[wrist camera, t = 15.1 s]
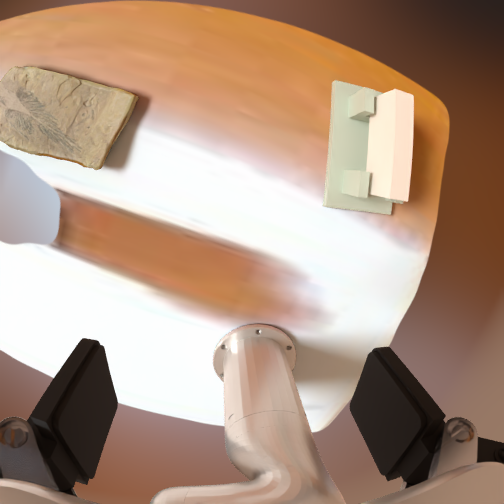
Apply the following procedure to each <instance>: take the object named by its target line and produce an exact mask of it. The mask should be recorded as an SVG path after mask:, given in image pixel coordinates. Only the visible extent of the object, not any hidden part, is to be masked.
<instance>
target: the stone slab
mask: <svg viewBox="0 0 504 504" xmlns="http://www.w3.org/2000/svg"><path fill="white" fill-rule="evenodd" d="M138 98H139V97H138V96H137V95H136V94H133V93H130V92H128V91H125V90H122V89H119V88H112V87H108V86H105V85H102V84H98V83H94V82H91V81H88V80H83V79H79V78H76V77H73V76H70V75H66V74H60V73H56V72H52V71H47V70H43V69H39V68H36V67H13V68H11V69H10V70H9V71H8V73H7V74H6V75H5V76H4V77H3V79H2V80H1V81H0V141H2V142H4V143H5V144H7V145H8V146H9V147H11V148H14V149H17V150H21V151H24V152H27V153H30V154H35V155H39V156H49V157H53V158H56V159H60V160H67V161H71V162H74V163H78V164H80V165H82V166H83V167H88V168H93V169H95V170H98V169H101V168H102V166H103V164H104V162H105V160H106V157H107V155H108V153H109V151H110V149H111V147H112V146H113V144H114V142H115V141H116V139H117V138H118V136H119V134H120V132H121V131H122V129H123V128H124V126H125V125H126V124H127V122H128V121H129V118H130V116H131V114H132V112H133V109H134V107H135V105H136V102H137V100H138Z"/></svg>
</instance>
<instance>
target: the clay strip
mask: <svg viewBox="0 0 504 504" xmlns="http://www.w3.org/2000/svg"><path fill="white" fill-rule="evenodd" d="M413 128H414V95H411V94H408V93H406V92H403V91H400V90H397V89H394V90H391V91H389V92H386V93H384V94H381V95H379V96H376V97H374V113H373V114H370V118H369V140H368V155H367V167H366V172H370V177H369V187H368V194H371V195H375V196H380V197H385V198H389V199H395V200H401V201H407V202H408V197H409V188H410V178H411V166H412V152H413Z"/></svg>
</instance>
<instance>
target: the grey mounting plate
mask: <svg viewBox="0 0 504 504" xmlns="http://www.w3.org/2000/svg"><path fill="white" fill-rule="evenodd" d="M381 94H384V93H381V92H378V91H374V90H373V89H370V88H366V87H365V88H364V87H360V86H357V85H353V84H349V83H345V82H341V81H337V80H335V81H334V82H332V99H331V118H330V133H329V147H328V159H327V170H326V181H325V191H324V200H323V206H325V207H331V208H340V209H349V210H357V211H365V212H373V213H381V214H388V215H391V209H392V202H394V203H400V204H403V201H401V200H395V199H389V198H385V197H380V196H375V195H371V194H368V187H369V177H370V172H366V167H367V155H368V140H369V118H370V114H373V113H374V97H376V96H379V95H381Z"/></svg>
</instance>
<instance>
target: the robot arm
mask: <svg viewBox="0 0 504 504" xmlns="http://www.w3.org/2000/svg"><path fill="white" fill-rule="evenodd" d="M295 363H296V350H295V347H294V344H293V342H292V341H291V339H290V338H289V337H288V336H287V335H286V334H285V333H284V332H283V331H281V330H280V329H277V328H275V327H273V326H268V325H261V324H253V325H246V326H242V327H239V328H237V329H234V330H232V331H231V332H229V333H228V334H226V335H225V336H224V337H223V338H222V339H221V340H220V341H219V343H218V344H217V346H216V348H215V350H214V355H213V366H214V370H215V372H216V374H217V376H218V377H219V378H220V379H221V380H222V381H223V382H224V419H225V446H226V452H227V454H228V457H229V459H230V461H231V462H232V464H233V465H234V466H235V468H236V469H237V470H239V472H241V473H242V474H243V475H244V476H245V477H247V478H248V479H249V480H250V481H246V482H239V483H234V484H223V485H207V486H183V487H171V488H167V489H164V490H162V491H160V492H158V493H157V494H156V495H155V496H154V497H153V498H152V500H151V502H150V504H346V503H345V501H344V499H343V497H342V495H341V493H340V491H339V490H338V488H337V486H336V485H335V483H334V481H333V480H332V478H331V476H330V475H329V473H328V471H327V469H326V467H325V465H324V463H323V461H322V459H321V456H320V454H319V452H318V449H317V447H316V444H315V441H314V438H313V435H312V432H311V429H310V426H309V423H308V420H307V417H306V414H305V411H304V408H303V405H302V402H301V399H300V396H299V393H298V390H297V387H296V383H295V380H294V377H293V374H292V370H293V368H294V366H295ZM117 404H118V401H117V397H116V393H115V390H114V386H113V382H112V379H111V375H110V371H109V367H108V362H107V358H106V353H105V349H104V346H102V345H100V343H99V341H97V340H91V339H86V338H83V339H82V340H81V341H80V342H79V343H78V345H77V346H76V348H75V349H74V350H73V352H72V353H71V355H70V356H69V357H68V359H67V360H66V362H65V363H64V365H63V366H62V368H61V369H60V371H59V372H58V373H57V374H56V376H55V377H54V379H53V380H52V382H51V383H50V385H49V387H48V388H47V390H46V391H45V393H44V394H43V396H42V397H41V399H40V401H39V402H38V404H37V405H36V407H35V409H34V410H33V412H32V414H31V415H30V417H29V419H28V420H27V421H26V420H24V419H22V418H19V417H9V418H6V419H4V420H3V421H1V422H0V504H98V503H95V502H91V501H88V500H85V499H81V498H78V497H77V495H76V493H75V491H74V489H73V487H74V485H75V482H80V483H82V484H86V485H87V484H88V481H89V478H90V479H93V477H94V476H95V473H96V469H97V466H98V463H99V460H100V457H101V453H102V450H103V447H104V444H105V441H106V438H107V435H108V432H109V429H110V427H111V424H112V421H113V418H114V416H115V413H116V410H117ZM350 411H351V413H352V416H353V418H354V419H355V422H356V424H357V426H358V428H359V430H360V432H361V434H362V436H363V438H364V440H365V442H366V444H367V446H368V448H369V450H370V453H371V455H372V457H373V459H374V461H375V463H376V465H377V467H378V469H379V471H380V473H381V474H382V475H385V477H386V479H387V481H390V480H393V479H396V478H398V477H400V476H402V478H403V483H402V486H401V488H400V491H398V492H395V493H392V494H389V495H387V496H383V497H381V498H377V499H374V500H371V501H368V502H364V503H361V504H504V443H502V442H497V441H493V440H488V439H484V438H480V437H478V433H477V429H476V427H475V426H474V424H473V423H472V422H470V421H469V420H467V419H465V418H462V417H454V418H451V419H449V420H448V421H447V422H446V423H445V422H444V420H443V419H444V418H445V414H444V413H443V412H442V410H441V409H440V408H439V406H438V405H437V404H436V403H435V402H434V400H433V399H432V398H431V396H430V395H429V394H428V393H427V391H426V390H425V389H424V388H423V387H422V385H421V384H420V383H419V382H418V380H417V379H416V378H415V377H414V376H413V374H412V373H411V372H410V371H409V370H408V368H407V367H406V366H405V365H404V364H403V362H402V361H401V360H400V359H399V358H398V356H397V355H396V354H395V353H394V352H393V351H392V349H391V348H390V347H380V348H374V349H373V350H372V352H370V353H369V354H368V357H367V360H366V363H365V365H364V368H363V371H362V374H361V377H360V379H359V382H358V385H357V387H356V390H355V392H354V395H353V398H352V400H351V403H350Z"/></svg>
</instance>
